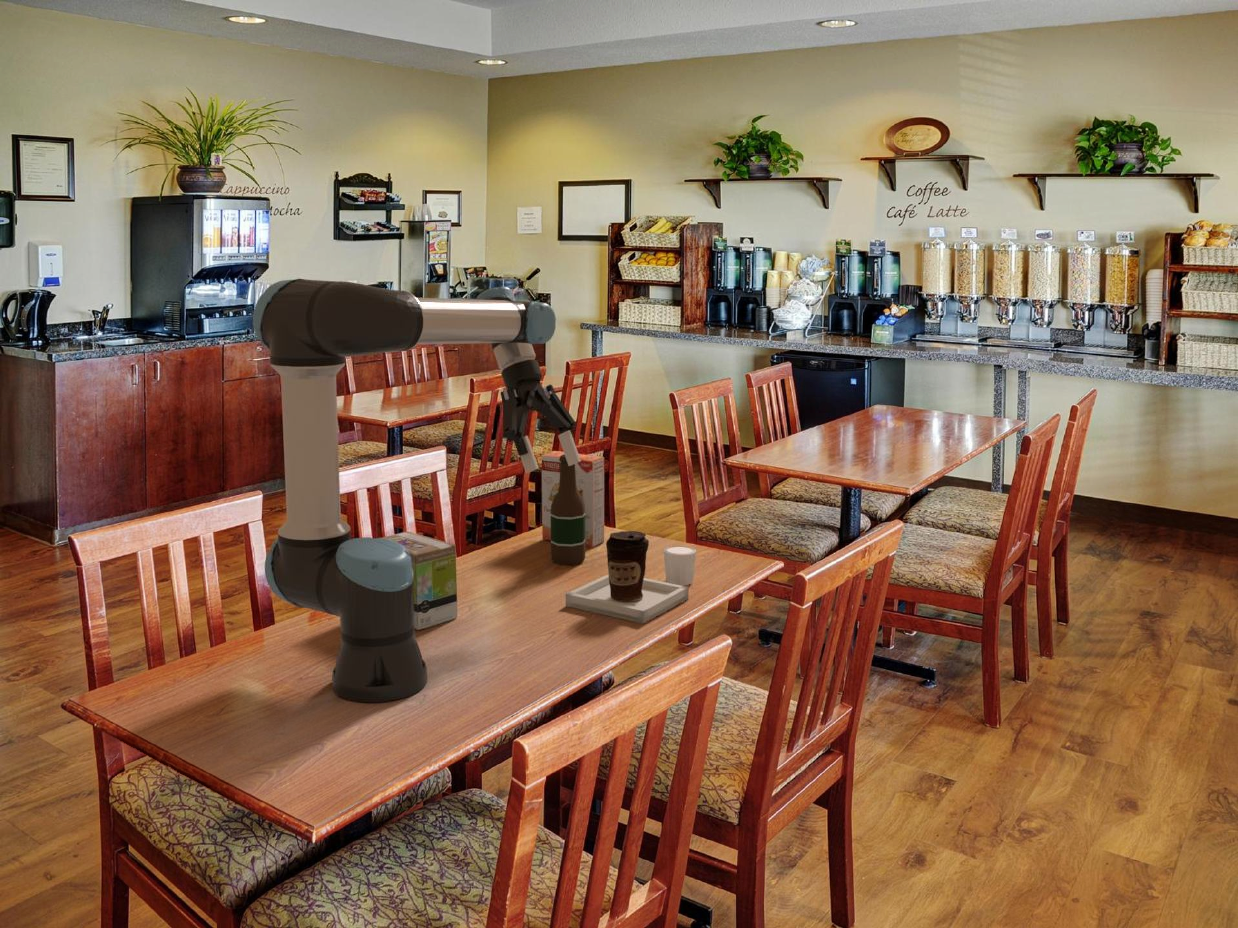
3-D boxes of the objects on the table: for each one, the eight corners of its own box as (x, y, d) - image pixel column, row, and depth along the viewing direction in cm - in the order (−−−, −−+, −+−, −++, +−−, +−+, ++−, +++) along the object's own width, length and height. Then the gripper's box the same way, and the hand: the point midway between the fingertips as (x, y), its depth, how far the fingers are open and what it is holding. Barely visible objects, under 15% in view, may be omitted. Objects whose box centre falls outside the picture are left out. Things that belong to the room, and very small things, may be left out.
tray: (643, 623, 210) (643, 611, 210) (565, 605, 220) (565, 593, 219) (688, 598, 224) (688, 587, 224) (613, 583, 234) (613, 571, 233)
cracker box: (541, 540, 265) (540, 454, 260) (554, 534, 270) (553, 449, 265) (592, 549, 258) (591, 460, 254) (605, 542, 263) (605, 455, 259)
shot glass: (679, 574, 240) (679, 543, 238) (702, 582, 235) (703, 550, 233) (656, 581, 235) (656, 549, 234) (679, 589, 230) (680, 556, 229)
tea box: (459, 618, 213) (457, 543, 210) (417, 632, 206) (414, 555, 203) (411, 600, 223) (408, 528, 220) (369, 613, 216) (365, 539, 213)
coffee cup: (643, 606, 217) (644, 541, 214) (601, 603, 218) (601, 539, 216) (651, 592, 225) (652, 529, 222) (611, 589, 227) (611, 527, 224)
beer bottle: (572, 568, 244) (571, 460, 239) (543, 562, 248) (542, 456, 243) (592, 559, 250) (592, 454, 245) (564, 553, 254) (563, 450, 249)
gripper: (543, 370, 230) (577, 467, 228) (462, 374, 210) (499, 480, 207) (570, 356, 226) (605, 454, 224) (490, 359, 206) (528, 467, 203)
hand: (554, 467), depth 216 cm, fingers open, 13 cm apart
